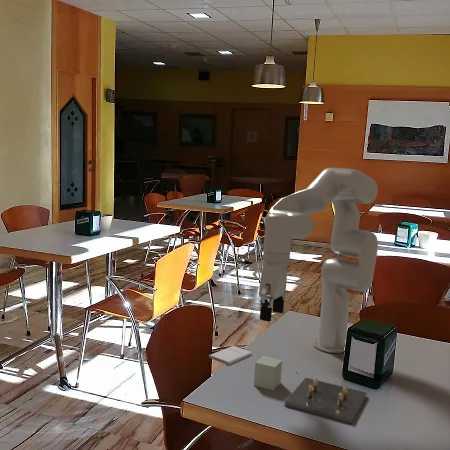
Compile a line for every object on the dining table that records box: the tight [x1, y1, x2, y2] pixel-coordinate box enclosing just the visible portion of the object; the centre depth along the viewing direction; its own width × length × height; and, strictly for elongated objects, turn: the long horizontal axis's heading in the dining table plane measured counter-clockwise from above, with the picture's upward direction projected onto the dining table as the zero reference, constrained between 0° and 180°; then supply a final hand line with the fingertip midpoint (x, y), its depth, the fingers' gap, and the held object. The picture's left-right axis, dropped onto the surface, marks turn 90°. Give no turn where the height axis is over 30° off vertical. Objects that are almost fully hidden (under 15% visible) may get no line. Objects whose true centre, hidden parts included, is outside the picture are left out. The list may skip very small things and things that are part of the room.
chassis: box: [284, 377, 368, 425], centre depth 148 cm, size 18×18×4 cm
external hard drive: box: [208, 345, 253, 366], centre depth 176 cm, size 2×8×12 cm
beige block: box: [253, 355, 283, 391], centre depth 156 cm, size 6×6×7 cm
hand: (271, 316), depth 153 cm, fingers open, 9 cm apart
